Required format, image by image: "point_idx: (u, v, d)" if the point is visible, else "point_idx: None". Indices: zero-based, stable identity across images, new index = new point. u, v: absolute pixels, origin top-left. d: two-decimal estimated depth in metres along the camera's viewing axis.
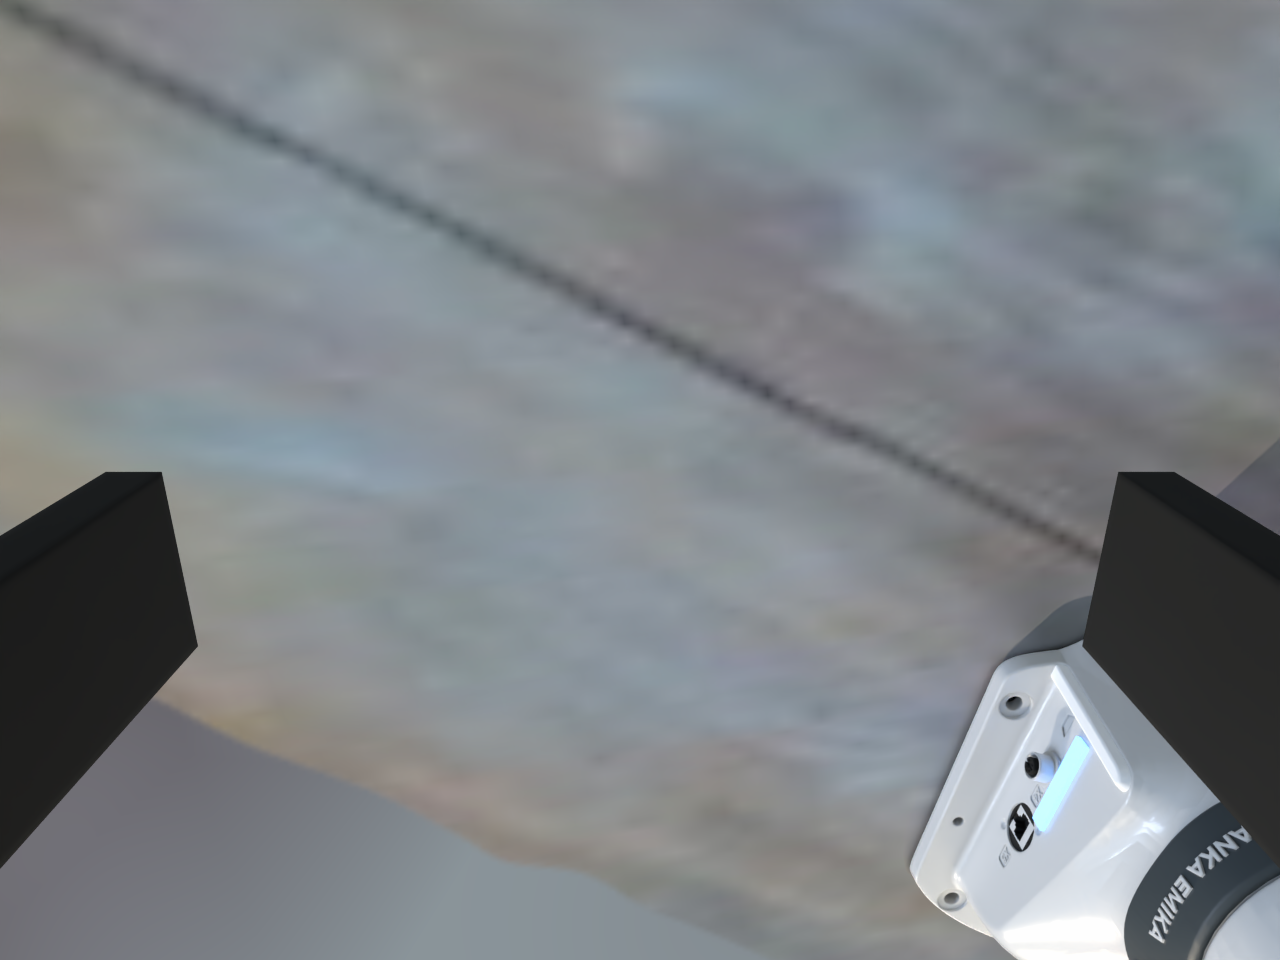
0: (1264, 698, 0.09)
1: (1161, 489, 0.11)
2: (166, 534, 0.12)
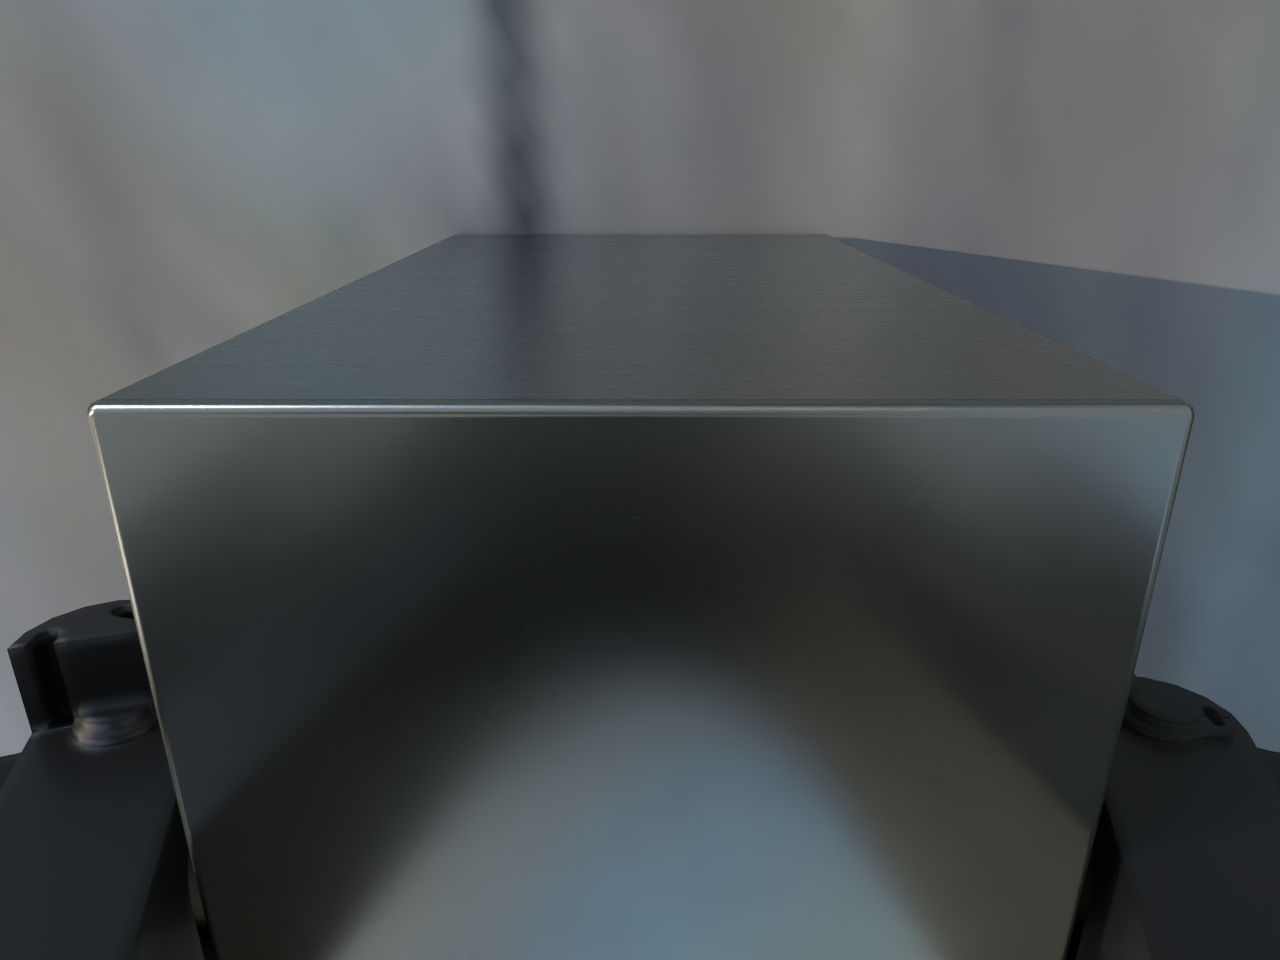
0: None
1: None
2: None
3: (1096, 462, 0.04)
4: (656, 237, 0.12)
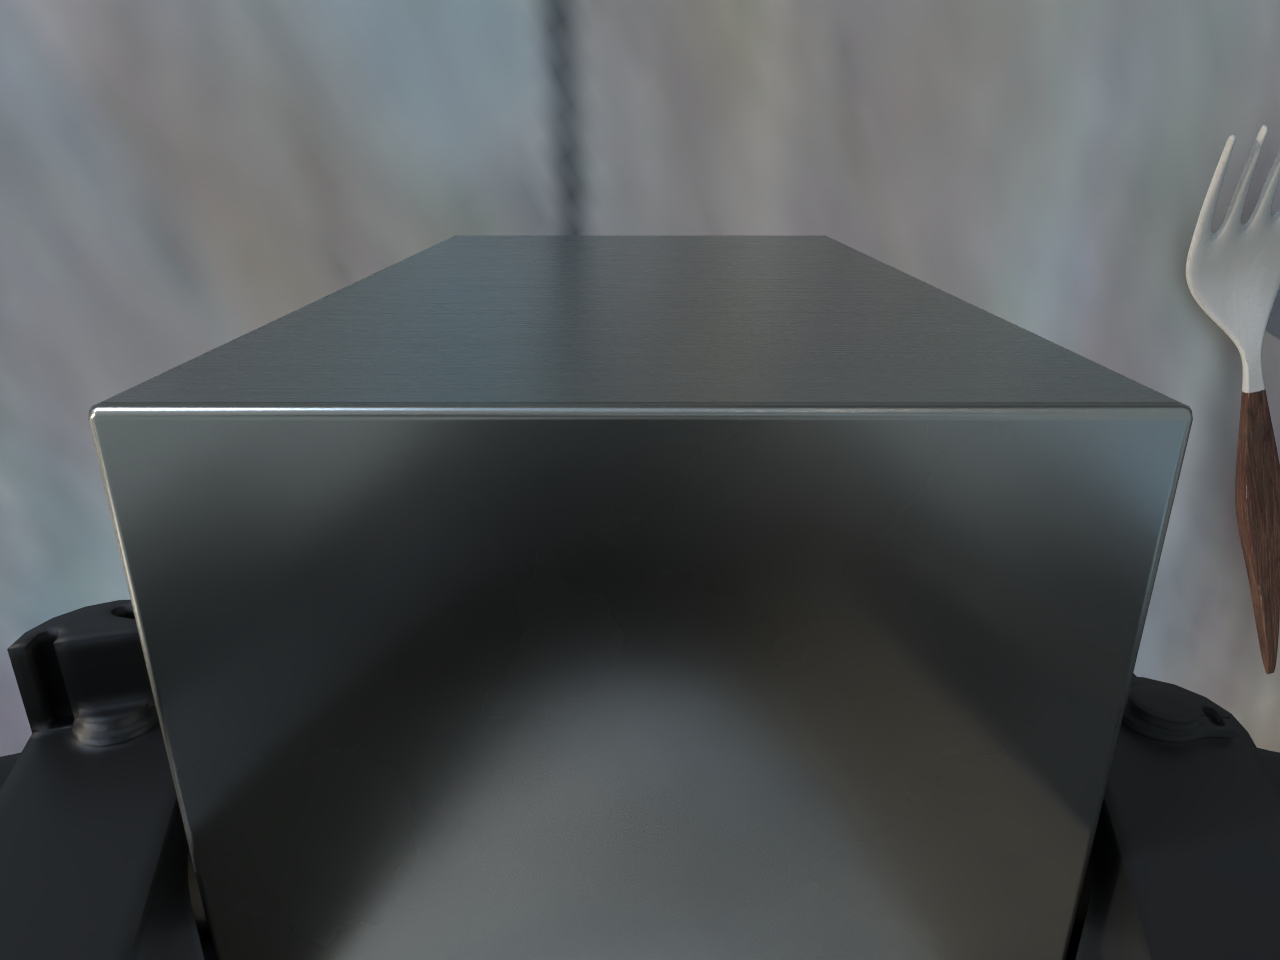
0: None
1: None
2: None
3: (1097, 466, 0.04)
4: (656, 238, 0.13)
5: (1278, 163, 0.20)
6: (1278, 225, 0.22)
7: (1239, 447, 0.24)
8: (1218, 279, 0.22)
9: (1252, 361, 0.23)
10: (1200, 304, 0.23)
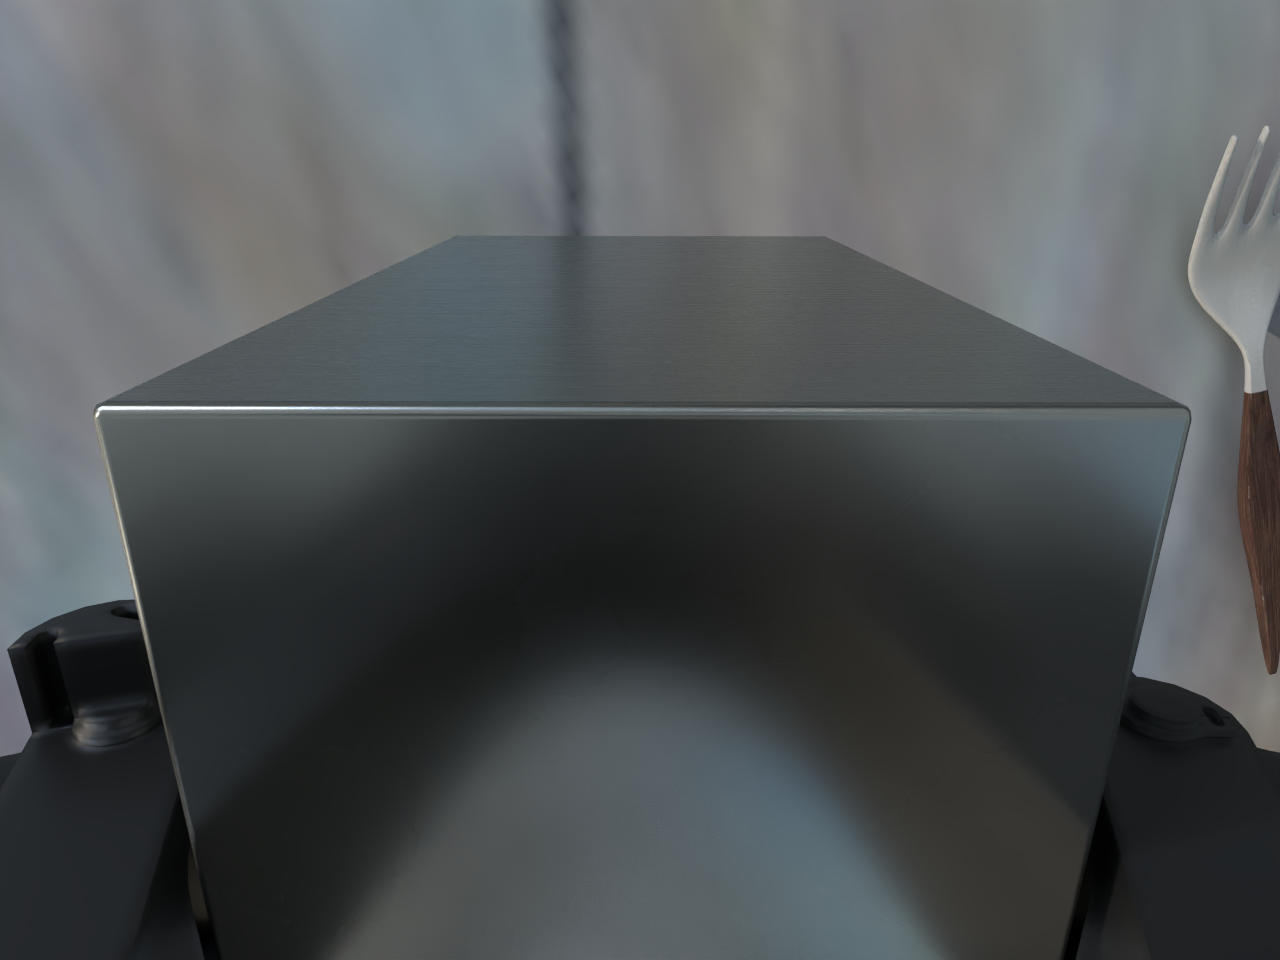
0: None
1: None
2: None
3: (1096, 466, 0.04)
4: (656, 239, 0.13)
5: None
6: None
7: (1241, 447, 0.24)
8: (1220, 279, 0.22)
9: (1255, 361, 0.23)
10: (1202, 304, 0.23)
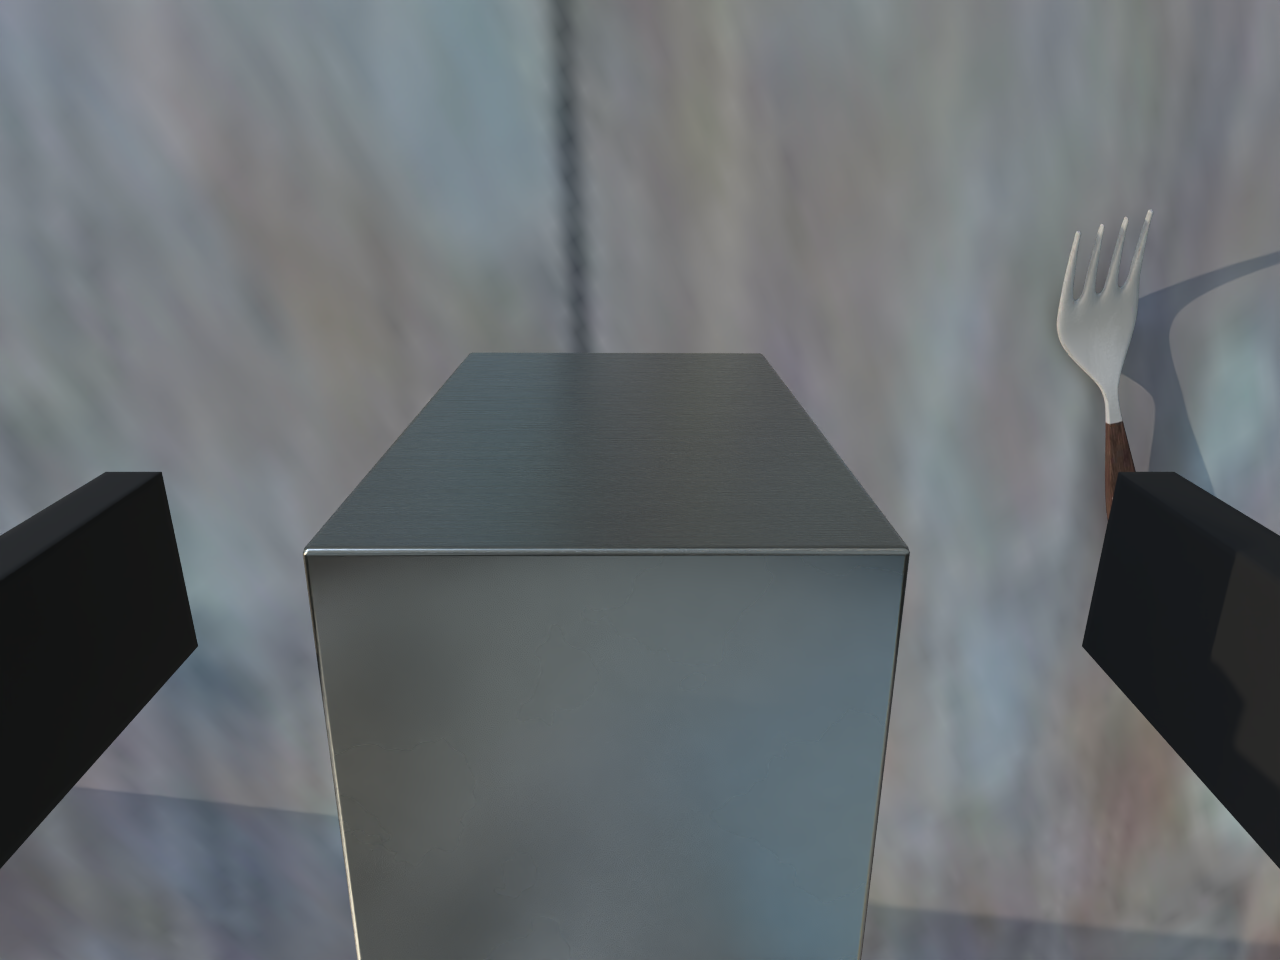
0: (1264, 698, 0.09)
1: (1161, 489, 0.11)
2: (166, 534, 0.12)
3: (858, 579, 0.08)
4: (628, 357, 0.16)
5: (1117, 250, 0.26)
6: (1125, 294, 0.28)
7: (1106, 466, 0.30)
8: (1082, 335, 0.28)
9: (1111, 399, 0.29)
10: (1069, 354, 0.29)
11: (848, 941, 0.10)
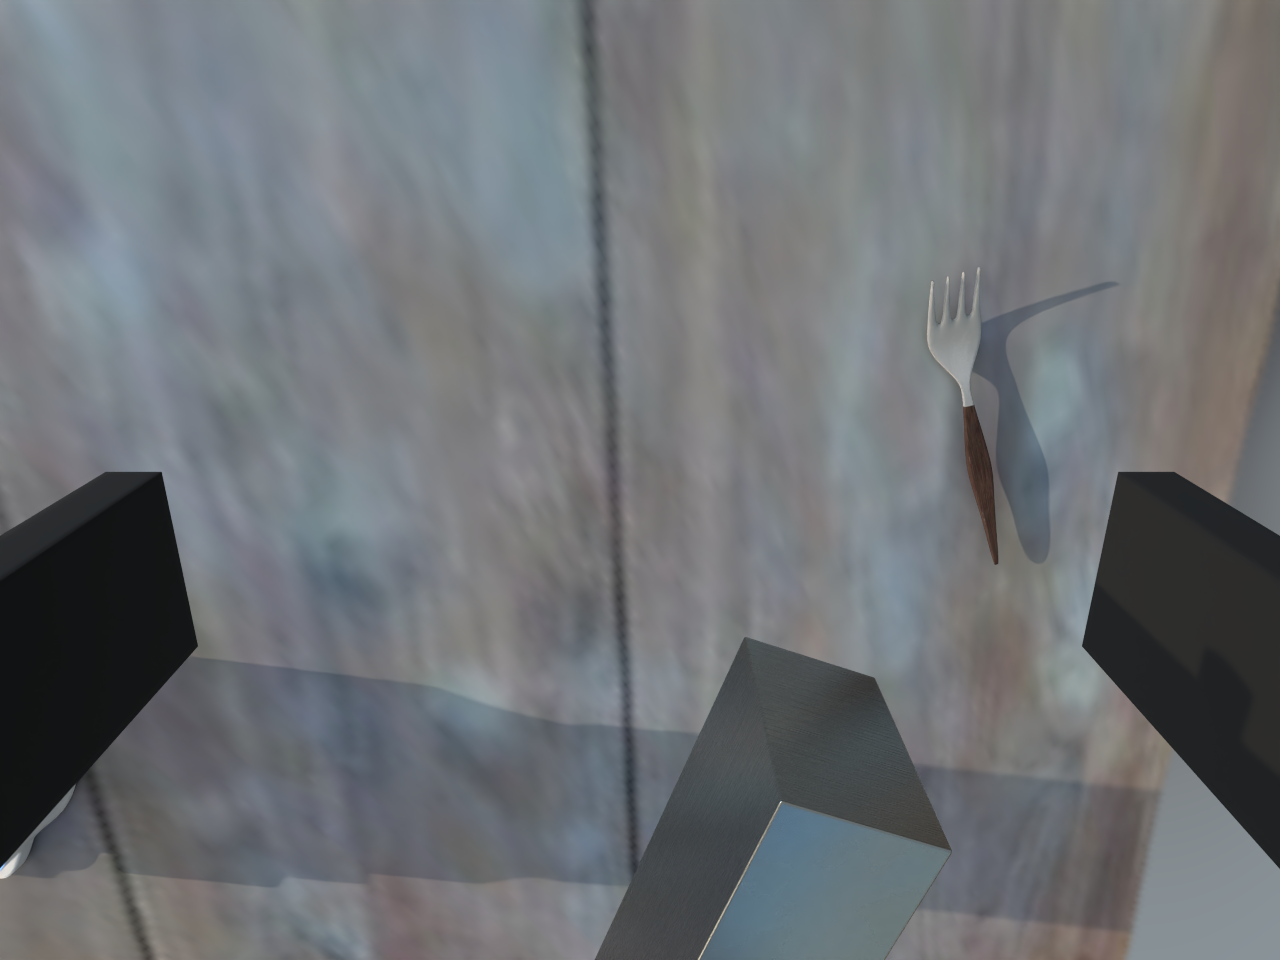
0: (1264, 698, 0.09)
1: (1161, 489, 0.11)
2: (166, 534, 0.12)
3: (934, 855, 0.26)
4: (818, 665, 0.34)
5: (961, 292, 0.40)
6: (971, 320, 0.42)
7: None
8: (944, 347, 0.42)
9: (965, 390, 0.43)
10: (937, 360, 0.43)
11: (879, 959, 0.28)
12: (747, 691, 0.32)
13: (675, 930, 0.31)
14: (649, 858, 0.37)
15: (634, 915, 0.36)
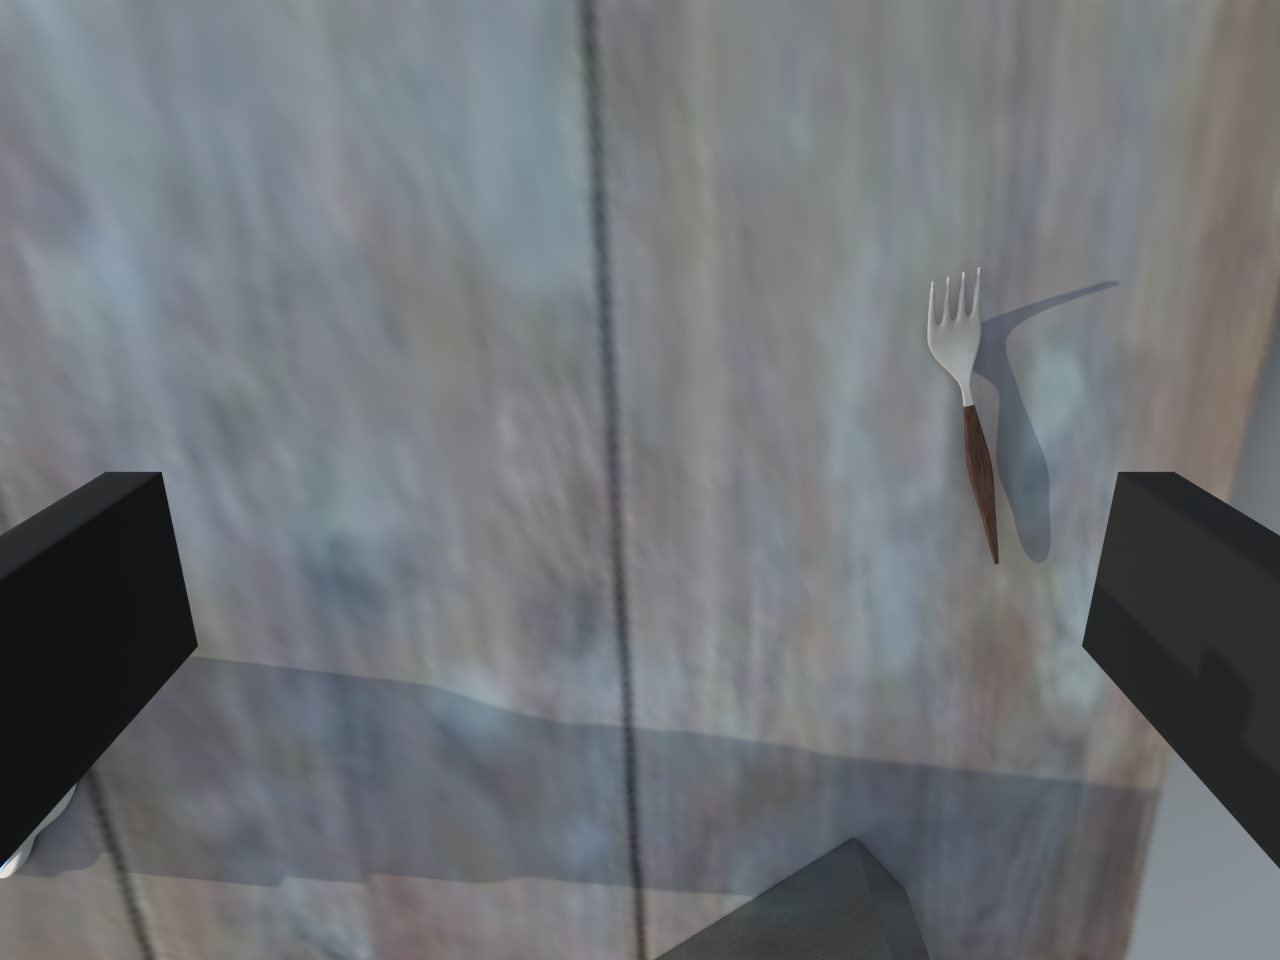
0: (1264, 698, 0.09)
1: (1162, 489, 0.11)
2: (166, 534, 0.12)
3: None
4: (884, 872, 0.54)
5: (961, 292, 0.40)
6: (971, 320, 0.42)
7: (965, 435, 0.44)
8: (945, 346, 0.42)
9: (965, 390, 0.43)
10: (937, 359, 0.43)
11: None
12: (857, 878, 0.51)
13: None
14: (716, 935, 0.55)
15: None
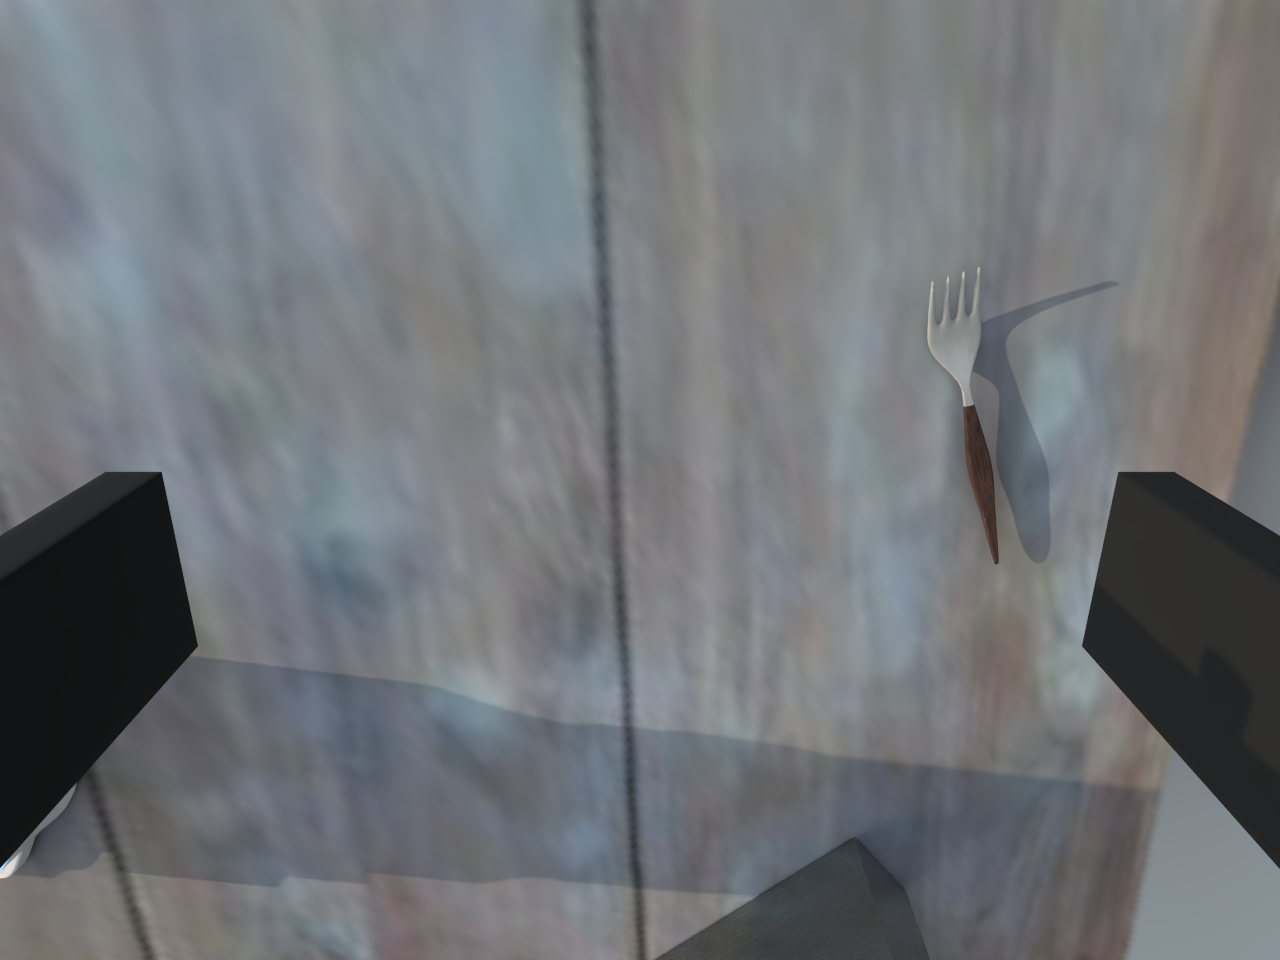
0: (1264, 698, 0.09)
1: (1162, 489, 0.11)
2: (166, 534, 0.12)
3: None
4: (884, 872, 0.54)
5: (961, 292, 0.40)
6: (971, 320, 0.42)
7: (965, 435, 0.44)
8: (945, 346, 0.42)
9: (965, 390, 0.43)
10: (937, 359, 0.43)
11: None
12: (857, 878, 0.51)
13: None
14: (716, 935, 0.55)
15: None
